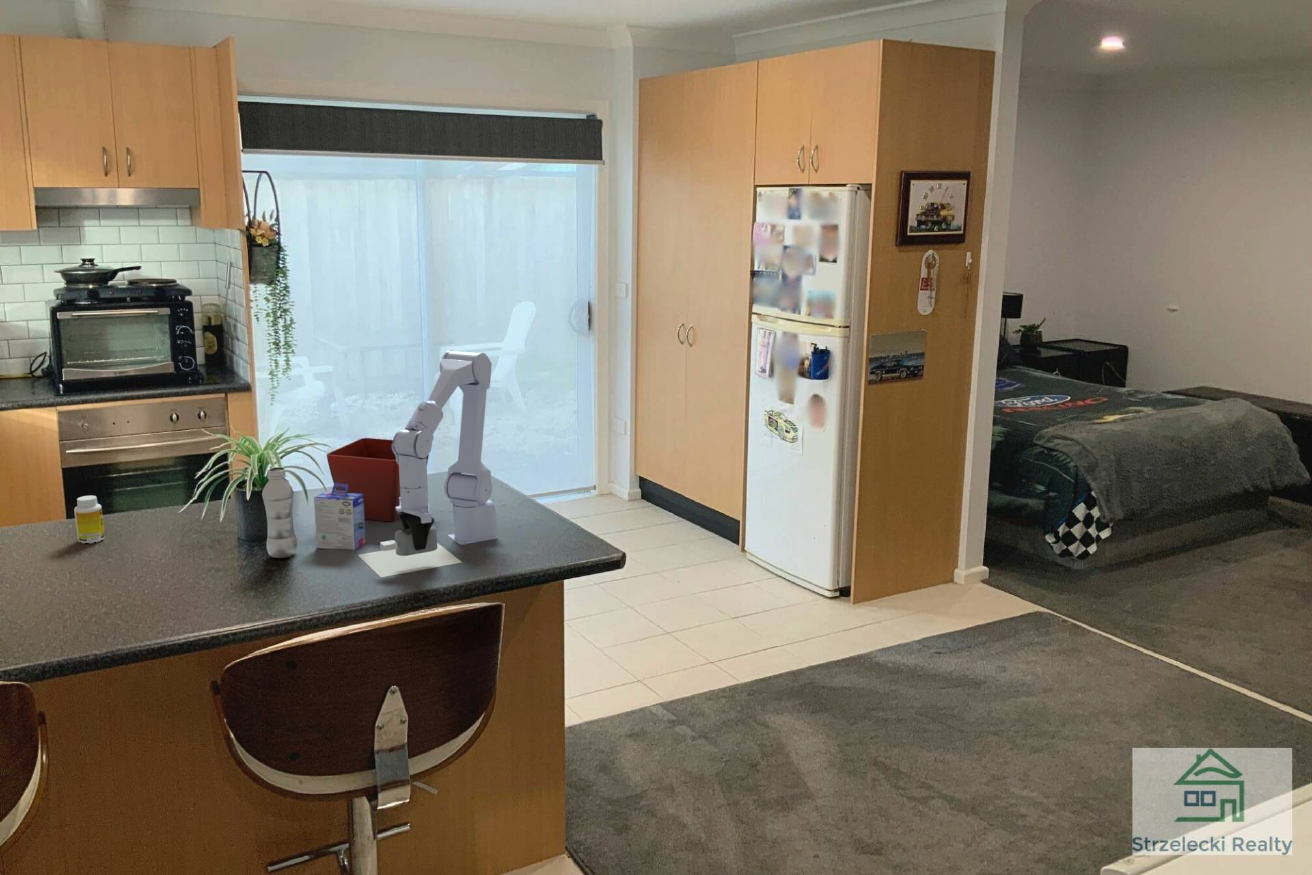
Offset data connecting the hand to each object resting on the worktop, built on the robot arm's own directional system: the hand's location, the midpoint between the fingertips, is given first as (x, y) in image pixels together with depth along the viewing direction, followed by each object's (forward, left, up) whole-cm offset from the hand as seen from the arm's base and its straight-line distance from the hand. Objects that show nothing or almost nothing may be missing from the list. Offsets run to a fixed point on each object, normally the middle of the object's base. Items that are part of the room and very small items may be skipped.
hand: (416, 546), depth 226 cm
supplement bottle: (+58, -55, -5) cm, 80 cm away
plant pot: (-6, -42, -5) cm, 43 cm away
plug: (+2, 0, -1) cm, 2 cm away
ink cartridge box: (+10, -22, -5) cm, 25 cm away
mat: (0, -5, -5) cm, 7 cm away
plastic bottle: (+23, -22, -5) cm, 32 cm away
